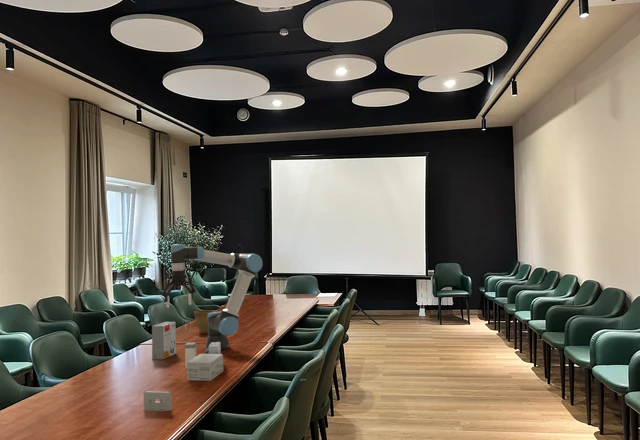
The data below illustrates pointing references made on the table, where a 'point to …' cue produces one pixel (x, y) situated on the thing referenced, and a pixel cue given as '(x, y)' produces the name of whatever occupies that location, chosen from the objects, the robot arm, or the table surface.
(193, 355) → the white and grey box
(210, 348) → the grey boxy device
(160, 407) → the cassette
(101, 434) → the table surface
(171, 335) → the hard drive box
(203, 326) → the plant pot
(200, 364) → the supplement box
